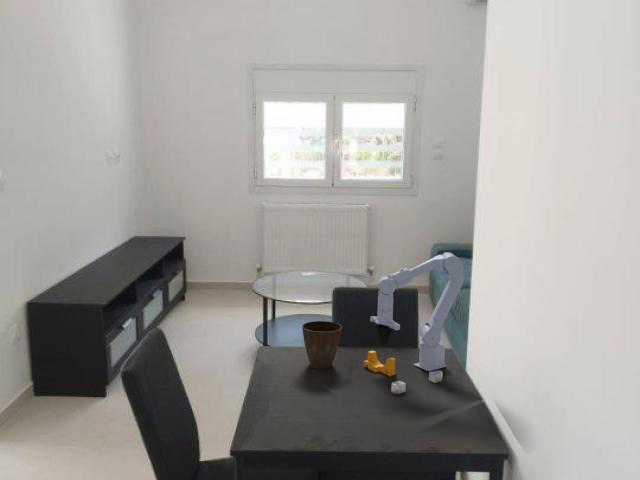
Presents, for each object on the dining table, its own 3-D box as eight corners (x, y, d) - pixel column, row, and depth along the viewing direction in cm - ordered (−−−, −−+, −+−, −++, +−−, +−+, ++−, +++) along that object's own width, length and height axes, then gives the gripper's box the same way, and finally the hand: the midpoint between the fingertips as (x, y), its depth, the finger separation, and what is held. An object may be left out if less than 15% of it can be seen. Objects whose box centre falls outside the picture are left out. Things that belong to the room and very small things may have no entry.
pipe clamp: (363, 369, 225) (364, 352, 224) (372, 366, 228) (372, 350, 227) (386, 378, 216) (387, 361, 215) (394, 375, 219) (395, 358, 218)
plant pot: (304, 359, 235) (305, 319, 232) (342, 361, 233) (343, 321, 230) (298, 372, 220) (299, 330, 218) (338, 375, 218) (339, 332, 216)
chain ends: (437, 377, 217) (438, 369, 217) (443, 380, 215) (444, 372, 214) (389, 391, 203) (389, 383, 203) (395, 394, 201) (395, 386, 200)
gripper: (364, 306, 226) (363, 340, 228) (390, 314, 215) (389, 351, 217) (378, 304, 231) (377, 338, 232) (404, 312, 219) (403, 347, 221)
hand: (384, 344), depth 225 cm, fingers closed
